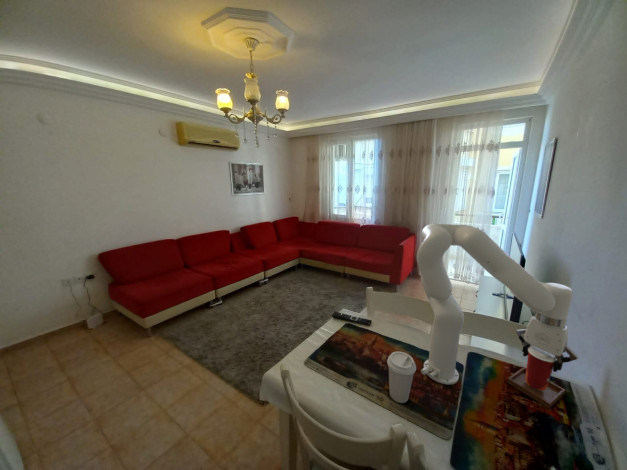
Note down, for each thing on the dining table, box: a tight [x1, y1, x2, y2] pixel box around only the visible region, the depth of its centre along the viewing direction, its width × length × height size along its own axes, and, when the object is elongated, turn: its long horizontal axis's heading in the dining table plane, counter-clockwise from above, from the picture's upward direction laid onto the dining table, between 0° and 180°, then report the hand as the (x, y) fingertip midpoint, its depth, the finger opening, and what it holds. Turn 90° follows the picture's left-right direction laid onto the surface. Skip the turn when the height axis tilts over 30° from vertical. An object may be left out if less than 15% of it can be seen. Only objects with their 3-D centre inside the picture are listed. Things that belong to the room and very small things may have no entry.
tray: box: [506, 366, 566, 409], centre depth 88 cm, size 12×12×2 cm
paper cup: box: [525, 345, 557, 390], centre depth 86 cm, size 8×8×14 cm
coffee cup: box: [386, 351, 417, 404], centre depth 84 cm, size 10×10×15 cm
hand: (540, 362), depth 86 cm, fingers closed on paper cup, 7 cm apart
